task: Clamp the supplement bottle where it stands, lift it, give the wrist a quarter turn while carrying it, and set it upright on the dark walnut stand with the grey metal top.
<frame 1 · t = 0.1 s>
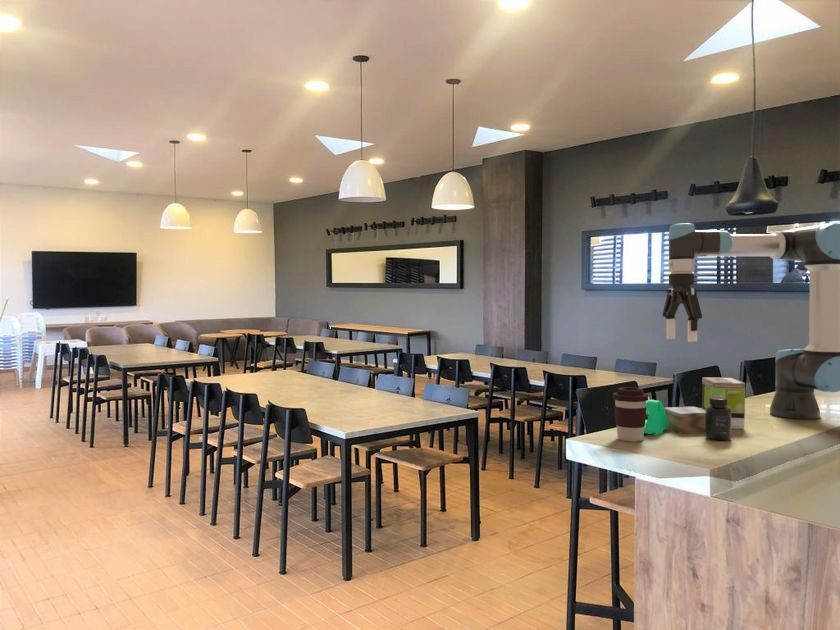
hand: (681, 340, 204), 28 cm above the countertop, fingers open, 13 cm apart
tea box: (722, 425, 211), on the countertop
walnut stand: (687, 428, 204), on the countertop
coffee cup: (630, 440, 190), on the countertop
camera mount: (647, 433, 200), on the countertop
supplement bottle: (718, 439, 190), on the countertop
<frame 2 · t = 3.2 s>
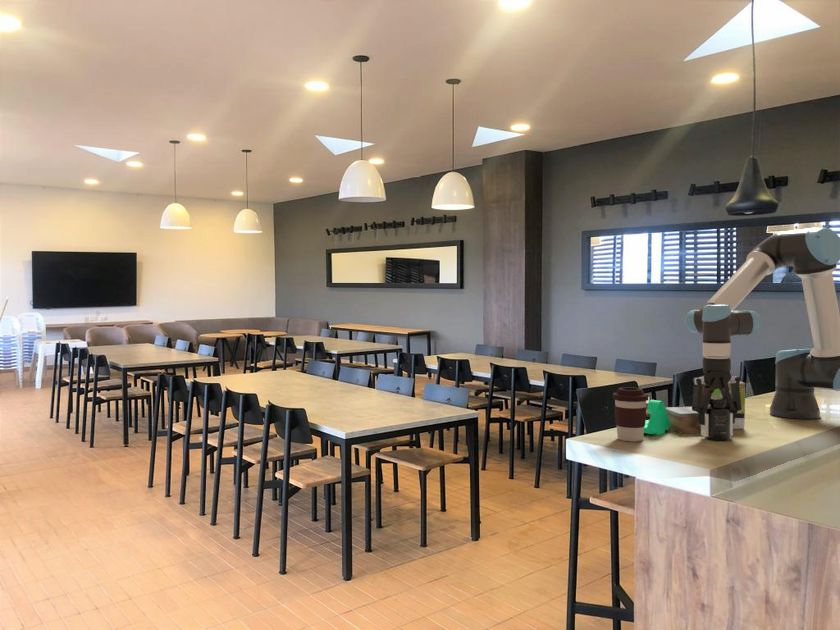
hand: (716, 435, 190), 1 cm above the countertop, fingers closed on supplement bottle, 7 cm apart
supplement bottle: (717, 439, 190), on the countertop, touching gripper
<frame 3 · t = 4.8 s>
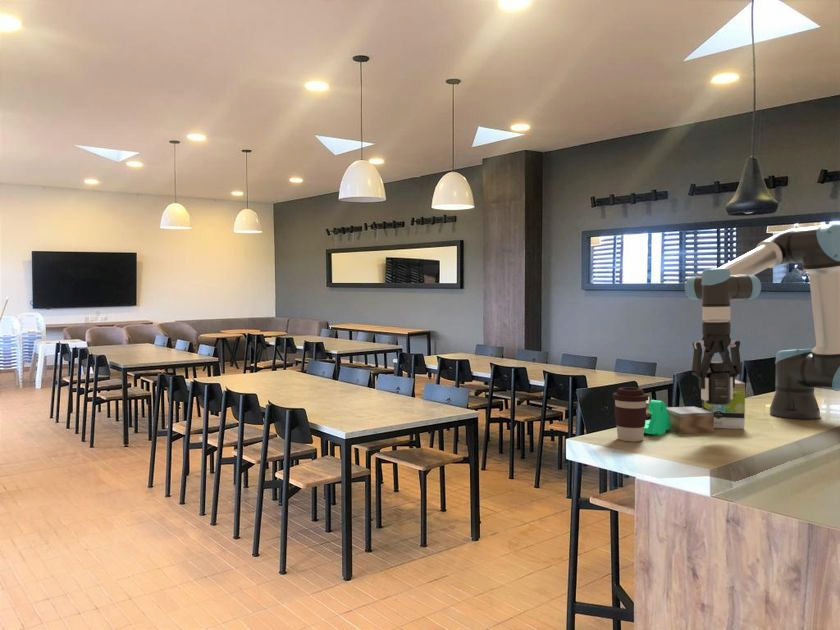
hand: (716, 399, 190), 12 cm above the countertop, fingers closed on supplement bottle, 7 cm apart
supplement bottle: (717, 403, 189), point 10 cm above the countertop, touching gripper
everything else where it was.
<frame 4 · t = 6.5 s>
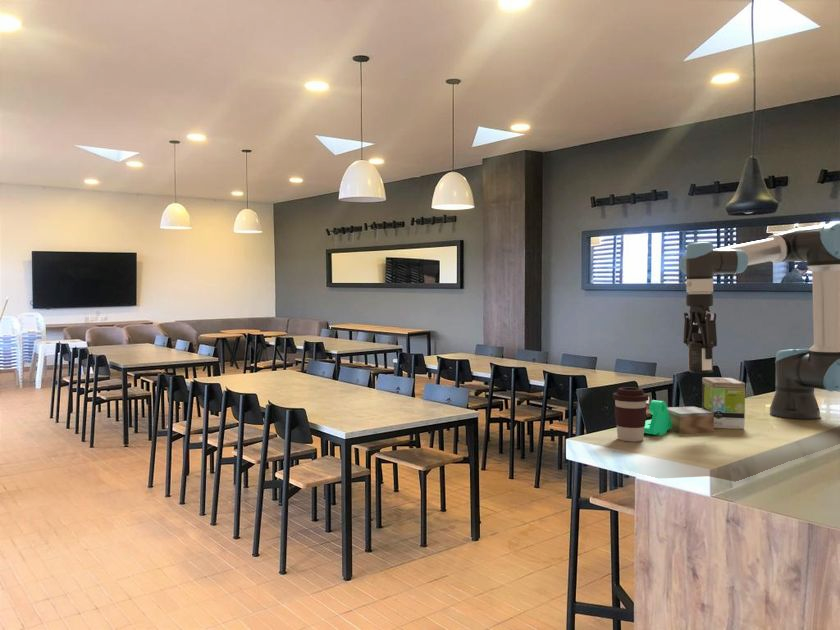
hand: (699, 368, 197), 20 cm above the countertop, fingers closed on supplement bottle, 7 cm apart
supplement bottle: (700, 372, 197), point 19 cm above the countertop, touching gripper
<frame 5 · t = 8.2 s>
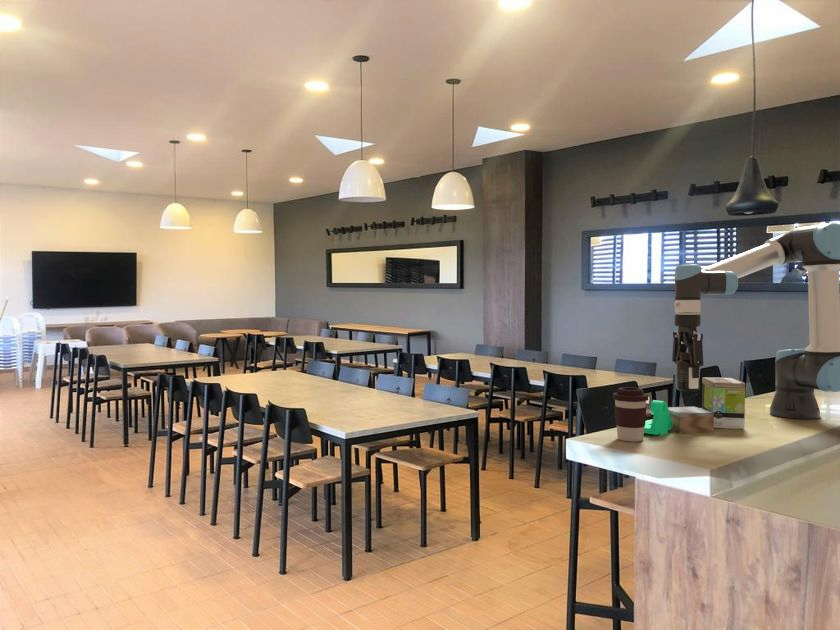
hand: (687, 386, 203), 13 cm above the countertop, fingers closed on supplement bottle, 7 cm apart
supplement bottle: (687, 390, 203), point 12 cm above the countertop, touching gripper
when the fingers open (8 cm above the countertop, at t = 9.5 s): supplement bottle drops 1 cm, resting on walnut stand.
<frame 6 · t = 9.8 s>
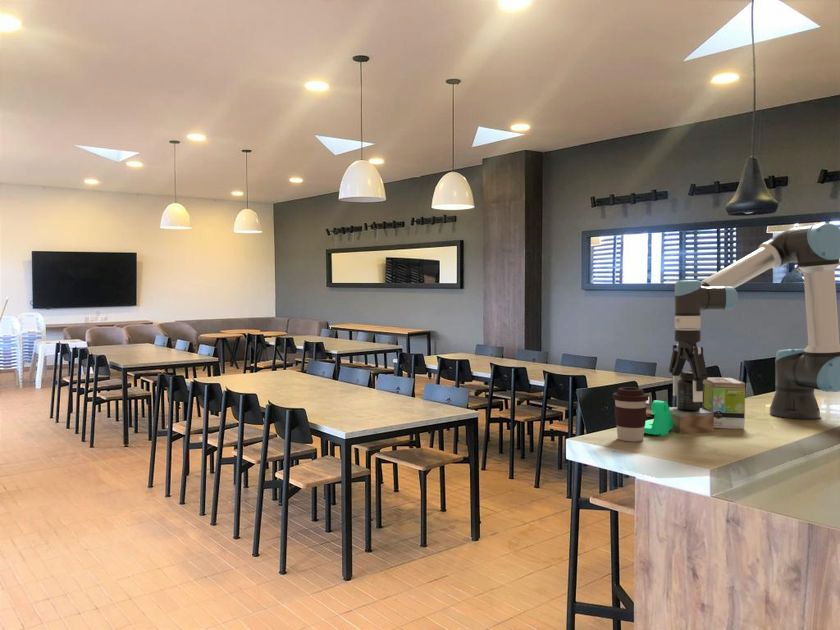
hand: (687, 398, 204), 10 cm above the countertop, fingers open, 11 cm apart
supplement bottle: (688, 410, 204), point 6 cm above the countertop, touching walnut stand
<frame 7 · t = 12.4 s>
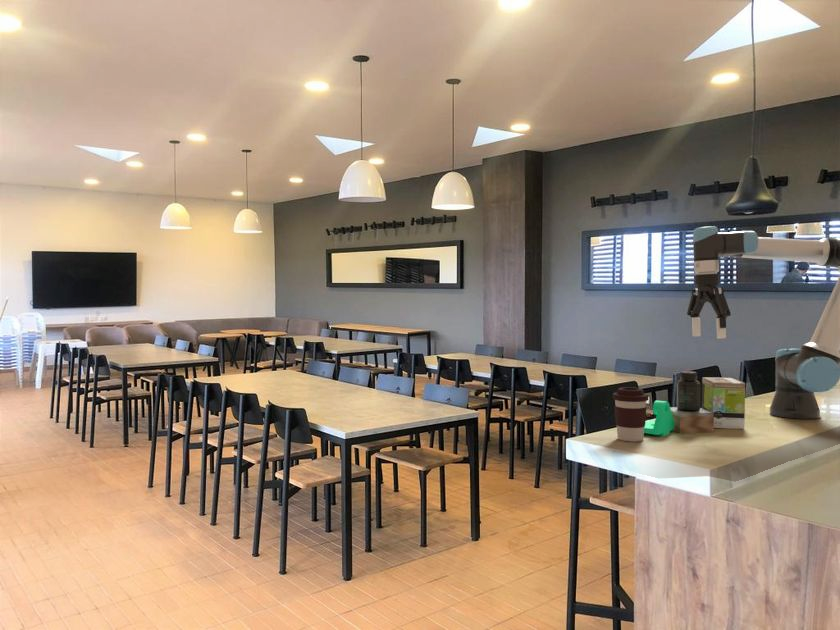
hand: (708, 337, 215), 28 cm above the countertop, fingers open, 13 cm apart
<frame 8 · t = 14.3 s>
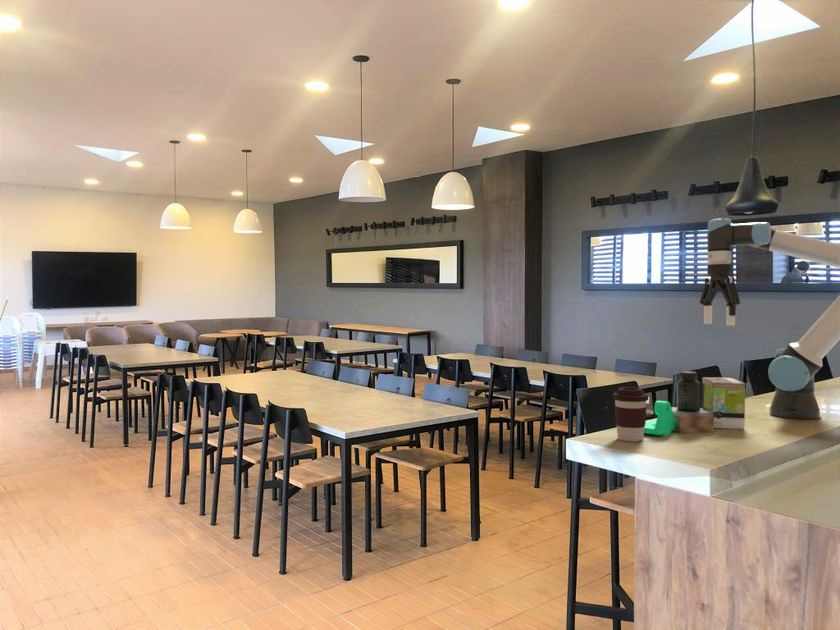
hand: (719, 324, 226), 32 cm above the countertop, fingers open, 13 cm apart
at the end: supplement bottle touching walnut stand; supplement bottle tilted 0° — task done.
